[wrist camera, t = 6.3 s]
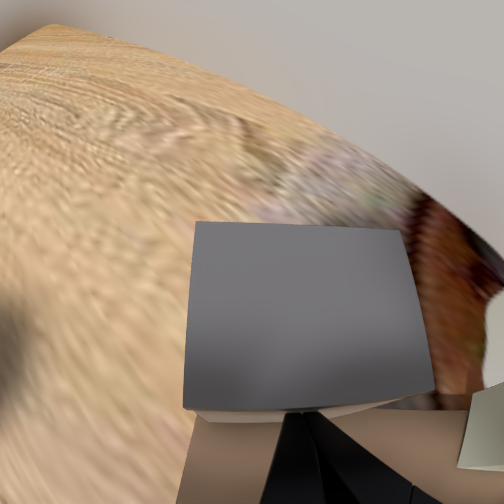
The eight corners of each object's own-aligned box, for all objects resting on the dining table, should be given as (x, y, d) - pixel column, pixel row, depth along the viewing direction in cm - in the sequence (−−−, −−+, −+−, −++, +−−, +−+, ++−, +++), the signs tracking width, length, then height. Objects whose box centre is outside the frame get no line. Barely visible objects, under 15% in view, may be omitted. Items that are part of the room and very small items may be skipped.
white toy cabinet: (331, 419, 12) (435, 389, 6) (201, 422, 12) (171, 406, 5) (324, 329, 14) (399, 230, 8) (204, 329, 14) (187, 221, 7)
